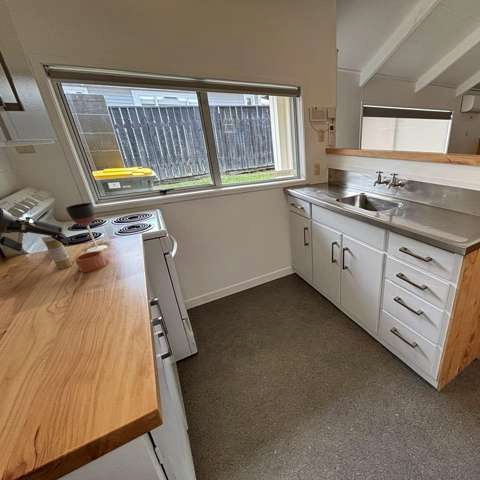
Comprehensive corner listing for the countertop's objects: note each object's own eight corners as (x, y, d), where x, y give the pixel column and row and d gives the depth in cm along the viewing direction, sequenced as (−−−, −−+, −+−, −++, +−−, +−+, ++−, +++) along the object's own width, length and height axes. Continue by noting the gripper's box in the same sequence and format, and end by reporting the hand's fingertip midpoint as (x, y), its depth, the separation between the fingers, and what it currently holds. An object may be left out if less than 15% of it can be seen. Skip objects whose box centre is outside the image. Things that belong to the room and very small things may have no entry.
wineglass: (80, 252, 113) (60, 208, 105) (100, 244, 121) (82, 202, 113) (94, 253, 111) (74, 208, 103) (113, 245, 119) (96, 203, 111)
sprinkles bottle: (65, 263, 102) (50, 232, 97) (76, 263, 102) (61, 232, 97) (53, 269, 98) (37, 237, 93) (64, 269, 98) (48, 237, 92)
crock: (79, 267, 98) (74, 256, 97) (105, 260, 103) (100, 249, 101) (81, 274, 93) (75, 262, 91) (107, 266, 98) (102, 255, 96)
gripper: (-80, 234, 68) (-3, 260, 87) (36, 220, 74) (84, 248, 93) (-71, 209, 71) (2, 240, 90) (40, 199, 77) (86, 229, 96)
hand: (44, 244), depth 92 cm, fingers open, 13 cm apart
